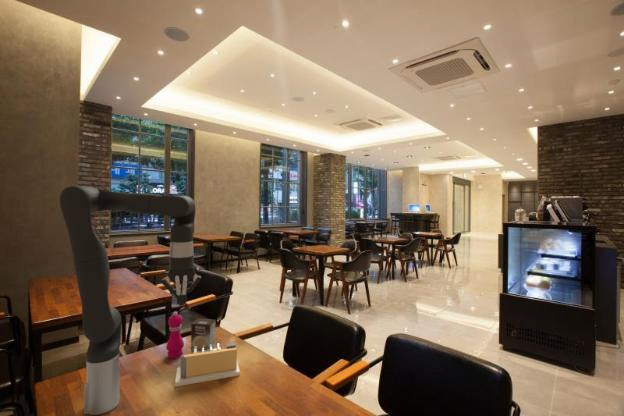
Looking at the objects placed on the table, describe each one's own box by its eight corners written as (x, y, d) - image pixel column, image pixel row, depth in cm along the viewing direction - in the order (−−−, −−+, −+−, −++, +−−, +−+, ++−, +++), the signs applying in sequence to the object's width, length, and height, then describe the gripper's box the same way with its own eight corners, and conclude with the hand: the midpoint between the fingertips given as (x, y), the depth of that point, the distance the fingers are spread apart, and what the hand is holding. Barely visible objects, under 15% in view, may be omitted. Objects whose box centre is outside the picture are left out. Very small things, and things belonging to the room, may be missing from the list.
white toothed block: (192, 372, 121) (192, 352, 121) (192, 365, 126) (193, 346, 126) (221, 367, 125) (221, 348, 125) (220, 361, 130) (220, 342, 130)
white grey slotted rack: (174, 386, 114) (175, 359, 114) (177, 371, 125) (177, 345, 124) (239, 375, 122) (239, 349, 122) (236, 361, 133) (237, 337, 132)
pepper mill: (167, 352, 140) (167, 309, 139) (184, 350, 142) (184, 308, 141) (165, 360, 133) (165, 315, 132) (182, 358, 135) (183, 313, 134)
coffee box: (190, 359, 134) (190, 323, 133) (196, 352, 140) (197, 318, 140) (209, 360, 133) (210, 324, 132) (215, 353, 139) (216, 319, 139)
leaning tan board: (180, 378, 116) (180, 358, 116) (180, 374, 119) (180, 354, 119) (236, 369, 124) (236, 349, 123) (236, 365, 126) (236, 346, 126)
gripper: (202, 251, 108) (202, 299, 109) (161, 253, 104) (161, 303, 104) (202, 255, 101) (202, 306, 102) (158, 257, 97) (158, 311, 97)
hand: (181, 305), depth 103 cm, fingers closed
